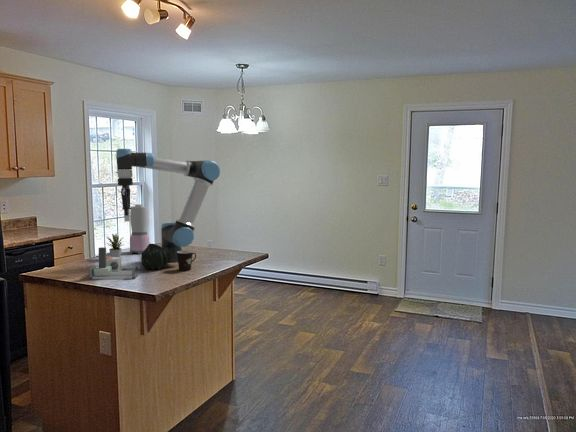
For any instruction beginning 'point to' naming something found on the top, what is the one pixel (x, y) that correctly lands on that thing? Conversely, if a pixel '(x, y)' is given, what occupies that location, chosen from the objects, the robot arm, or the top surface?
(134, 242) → the blender
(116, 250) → the house plant
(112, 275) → the rail base
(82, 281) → the top surface
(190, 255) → the coffee mug
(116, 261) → the gauge cabinet
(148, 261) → the squash
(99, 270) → the carriage
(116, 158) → the robot arm
